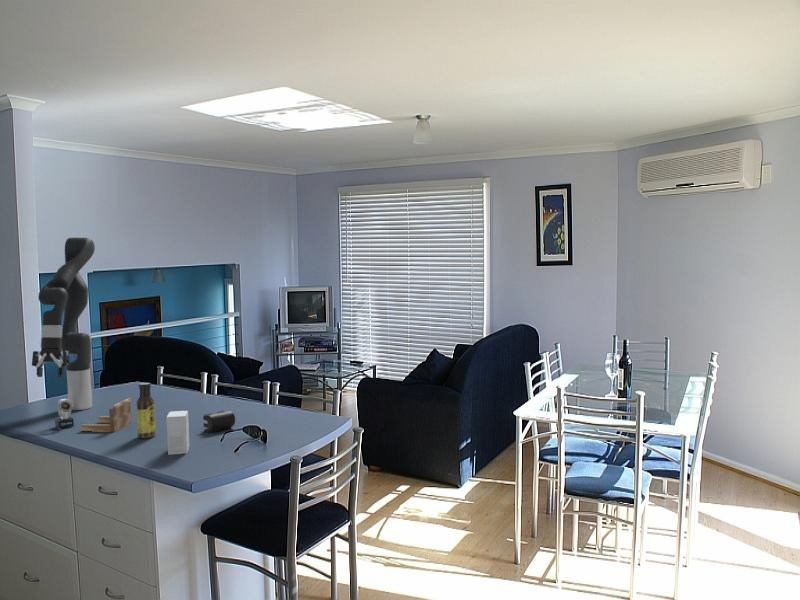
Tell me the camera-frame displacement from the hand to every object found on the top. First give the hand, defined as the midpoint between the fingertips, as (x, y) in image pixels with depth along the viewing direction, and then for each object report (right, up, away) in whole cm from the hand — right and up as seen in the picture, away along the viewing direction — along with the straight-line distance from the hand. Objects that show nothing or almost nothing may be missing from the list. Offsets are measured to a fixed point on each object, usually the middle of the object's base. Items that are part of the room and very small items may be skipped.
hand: (50, 376), depth 271 cm
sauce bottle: (+47, -20, -23) cm, 56 cm away
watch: (+9, -19, -7) cm, 22 cm away
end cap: (+72, -19, -14) cm, 76 cm away
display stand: (+26, -19, -8) cm, 33 cm away
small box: (+65, -21, -41) cm, 80 cm away
